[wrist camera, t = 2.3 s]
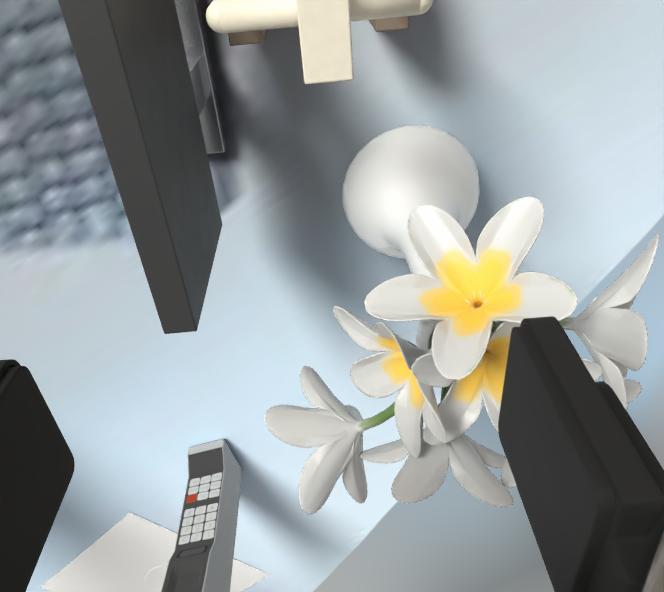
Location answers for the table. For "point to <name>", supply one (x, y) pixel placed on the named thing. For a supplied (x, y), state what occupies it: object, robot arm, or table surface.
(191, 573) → the vintage mobile phone
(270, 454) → the table surface
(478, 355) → the flower vase
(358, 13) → the headphones
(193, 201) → the monitor
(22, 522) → the robot arm
